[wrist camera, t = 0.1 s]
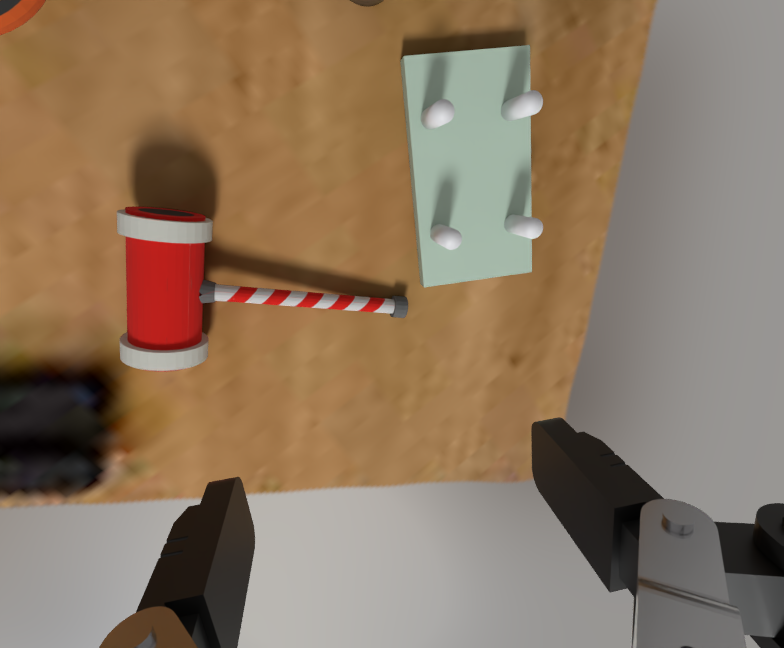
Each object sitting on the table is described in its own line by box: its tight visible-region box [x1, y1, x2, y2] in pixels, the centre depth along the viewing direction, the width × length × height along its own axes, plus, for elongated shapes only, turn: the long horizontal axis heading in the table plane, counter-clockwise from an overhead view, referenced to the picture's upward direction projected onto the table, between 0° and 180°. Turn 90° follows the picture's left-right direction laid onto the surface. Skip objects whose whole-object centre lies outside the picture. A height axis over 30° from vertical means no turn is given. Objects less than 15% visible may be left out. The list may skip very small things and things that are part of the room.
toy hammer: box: [117, 207, 408, 371], centre depth 37 cm, size 23×12×6 cm, turn 82°
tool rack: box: [400, 45, 543, 287], centre depth 36 cm, size 18×10×6 cm, turn 6°
